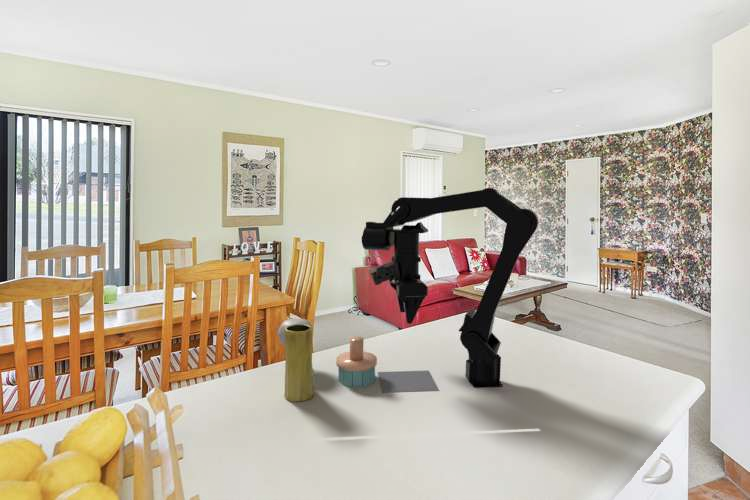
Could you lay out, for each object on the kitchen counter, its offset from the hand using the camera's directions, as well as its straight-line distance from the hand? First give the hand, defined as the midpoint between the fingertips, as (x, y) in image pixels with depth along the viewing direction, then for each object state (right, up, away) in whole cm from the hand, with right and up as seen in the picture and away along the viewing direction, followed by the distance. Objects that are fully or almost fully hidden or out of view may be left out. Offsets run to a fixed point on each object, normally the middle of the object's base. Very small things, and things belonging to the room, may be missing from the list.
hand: (405, 317), depth 95 cm
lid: (-11, -9, -6) cm, 16 cm away
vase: (-23, -14, -12) cm, 29 cm away
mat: (0, -13, -6) cm, 15 cm away
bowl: (-11, -13, -5) cm, 18 cm away
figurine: (-26, -13, 0) cm, 29 cm away
